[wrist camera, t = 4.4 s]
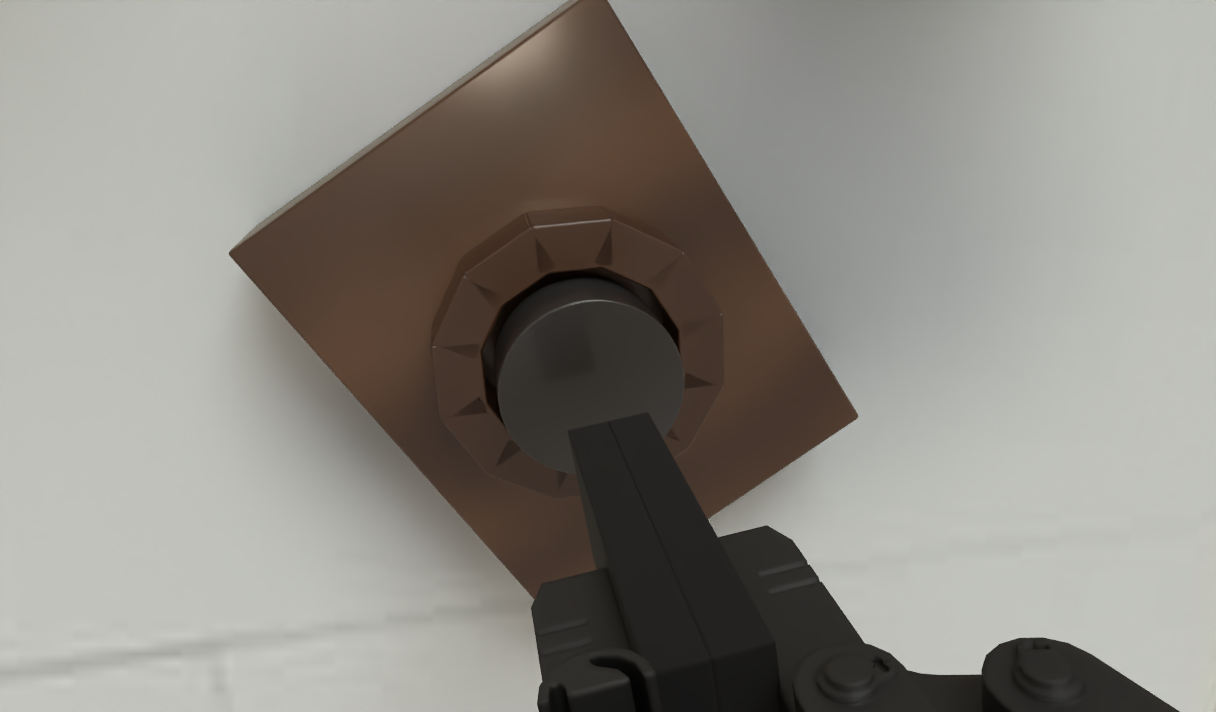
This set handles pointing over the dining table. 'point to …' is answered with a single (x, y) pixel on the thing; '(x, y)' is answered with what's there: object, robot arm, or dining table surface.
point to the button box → (542, 281)
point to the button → (583, 366)
